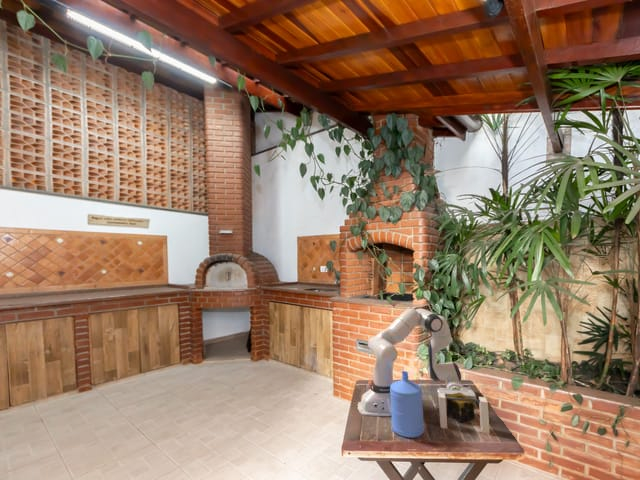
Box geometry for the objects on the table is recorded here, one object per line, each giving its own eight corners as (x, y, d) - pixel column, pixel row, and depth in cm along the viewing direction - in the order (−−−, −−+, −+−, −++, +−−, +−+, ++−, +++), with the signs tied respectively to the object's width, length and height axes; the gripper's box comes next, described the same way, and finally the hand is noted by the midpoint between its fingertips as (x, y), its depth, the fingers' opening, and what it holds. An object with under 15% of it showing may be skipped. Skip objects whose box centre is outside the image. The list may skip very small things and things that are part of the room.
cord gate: (440, 427, 152) (439, 397, 153) (440, 422, 157) (438, 392, 157) (489, 433, 145) (487, 402, 146) (487, 428, 150) (485, 397, 151)
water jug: (426, 440, 142) (423, 379, 144) (392, 437, 146) (389, 377, 147) (421, 421, 158) (419, 367, 159) (391, 419, 161) (388, 366, 162)
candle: (446, 413, 165) (445, 395, 165) (460, 410, 168) (459, 391, 169) (460, 423, 155) (459, 403, 156) (475, 419, 158) (474, 399, 159)
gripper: (436, 383, 184) (438, 393, 171) (473, 386, 179) (477, 397, 165) (436, 394, 184) (438, 405, 171) (473, 397, 178) (478, 409, 165)
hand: (458, 401), depth 168 cm, fingers closed
